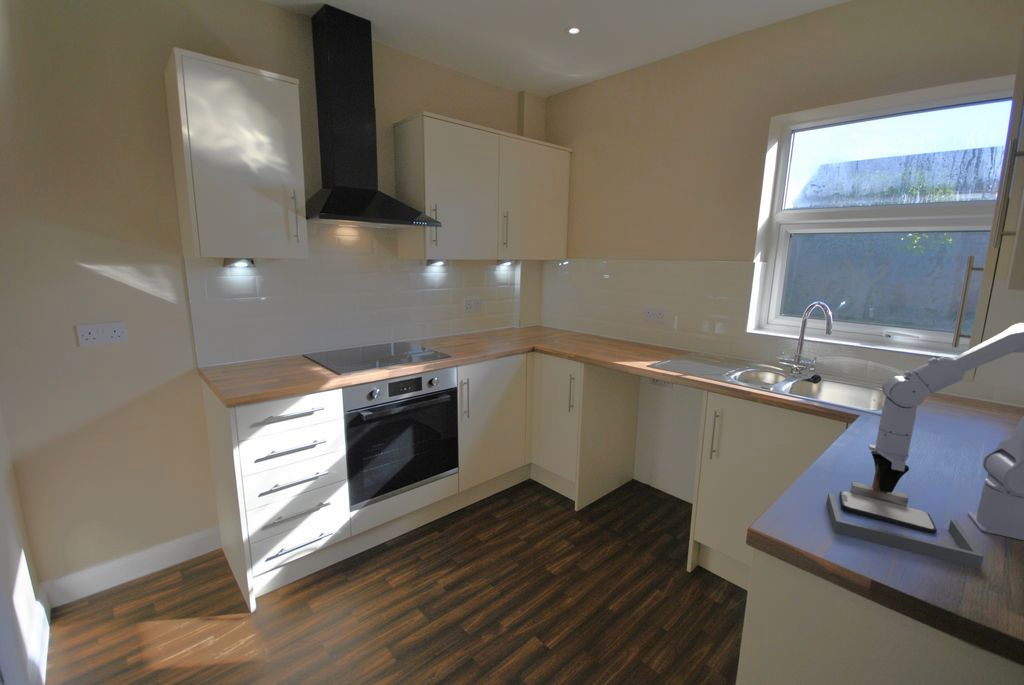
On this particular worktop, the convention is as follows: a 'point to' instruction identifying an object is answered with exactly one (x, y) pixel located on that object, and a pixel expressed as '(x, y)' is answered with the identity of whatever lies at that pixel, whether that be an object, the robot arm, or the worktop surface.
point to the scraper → (879, 492)
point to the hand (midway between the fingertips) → (883, 487)
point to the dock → (910, 539)
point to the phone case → (887, 512)
